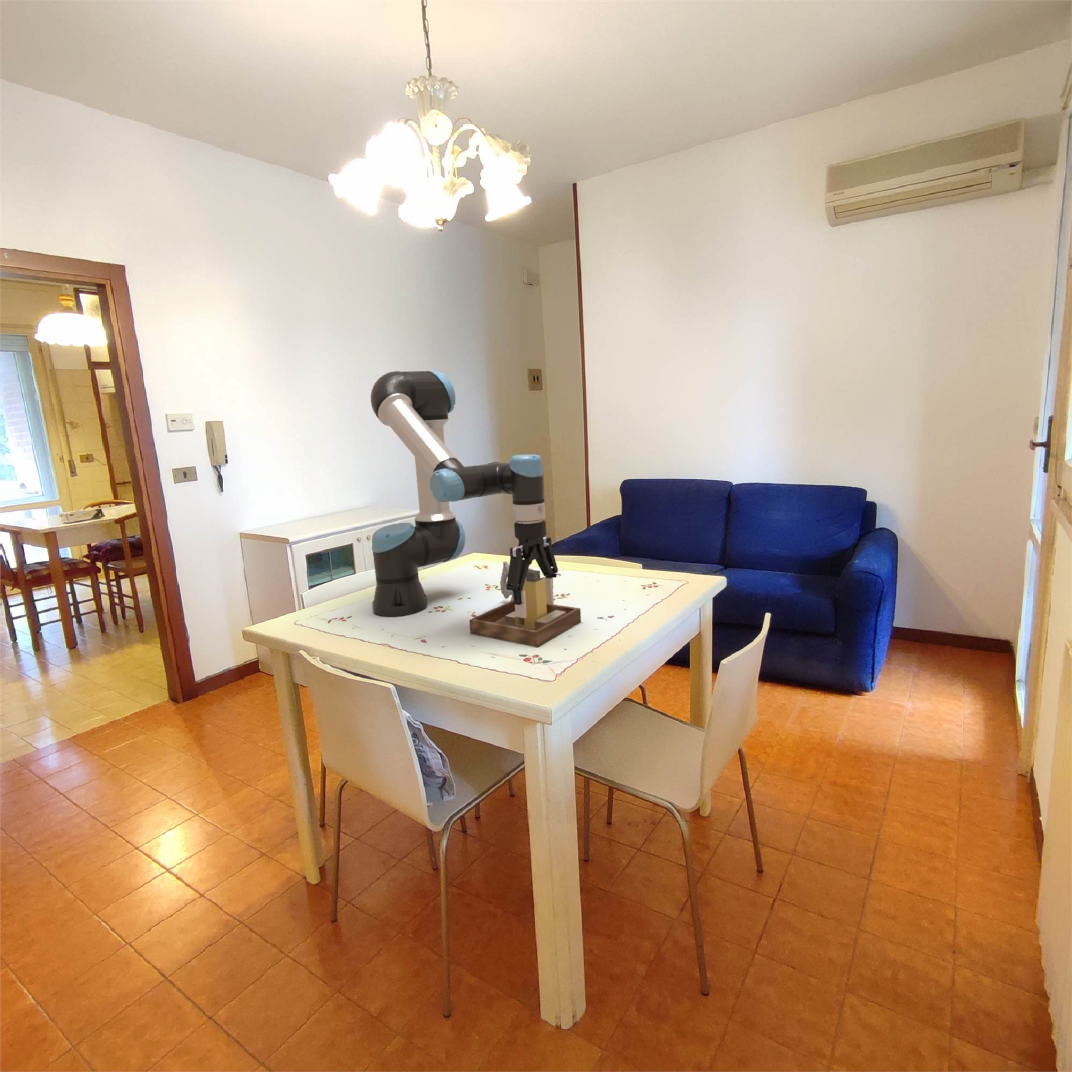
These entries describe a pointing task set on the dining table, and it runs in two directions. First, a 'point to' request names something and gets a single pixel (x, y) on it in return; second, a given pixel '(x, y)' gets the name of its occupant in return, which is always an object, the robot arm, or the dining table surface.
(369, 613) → the dining table surface
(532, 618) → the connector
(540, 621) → the inlet
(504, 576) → the mug
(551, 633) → the box
